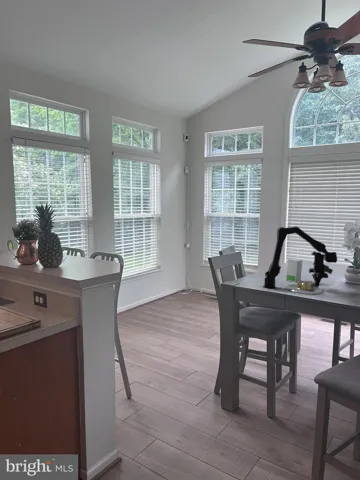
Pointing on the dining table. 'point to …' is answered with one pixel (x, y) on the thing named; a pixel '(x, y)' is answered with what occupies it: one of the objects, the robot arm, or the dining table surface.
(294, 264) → the skincare box
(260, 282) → the dining table surface
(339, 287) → the dining table surface
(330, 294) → the dining table surface
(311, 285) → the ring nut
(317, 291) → the clear glass plate
